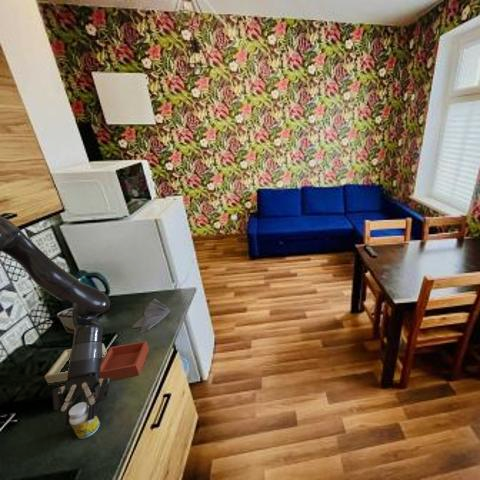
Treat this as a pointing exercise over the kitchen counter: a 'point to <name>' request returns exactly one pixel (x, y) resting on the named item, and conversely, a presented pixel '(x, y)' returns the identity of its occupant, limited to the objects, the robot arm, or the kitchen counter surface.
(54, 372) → the cream bin
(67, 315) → the food container
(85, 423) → the supplement bottle
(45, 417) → the kitchen counter surface
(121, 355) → the terracotta bin
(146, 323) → the cloth
